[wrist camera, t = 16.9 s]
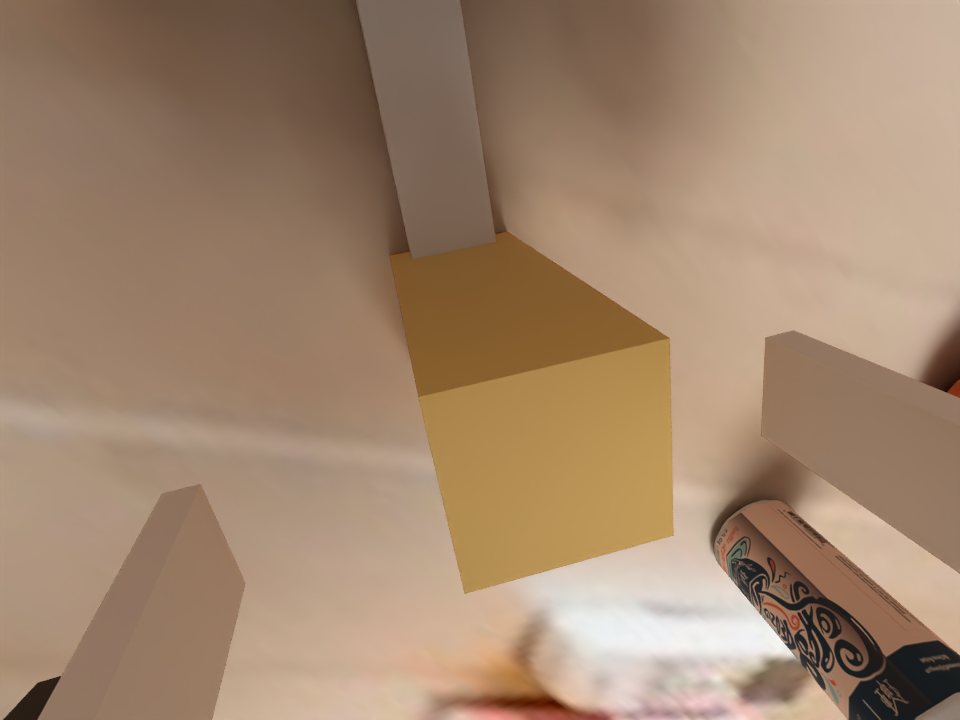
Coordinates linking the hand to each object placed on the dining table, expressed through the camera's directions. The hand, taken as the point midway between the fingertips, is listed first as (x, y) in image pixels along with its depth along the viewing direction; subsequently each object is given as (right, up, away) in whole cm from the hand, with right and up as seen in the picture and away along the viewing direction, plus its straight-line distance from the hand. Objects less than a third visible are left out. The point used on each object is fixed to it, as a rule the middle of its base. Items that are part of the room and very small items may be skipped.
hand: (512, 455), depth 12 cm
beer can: (+14, -7, +17) cm, 23 cm away
